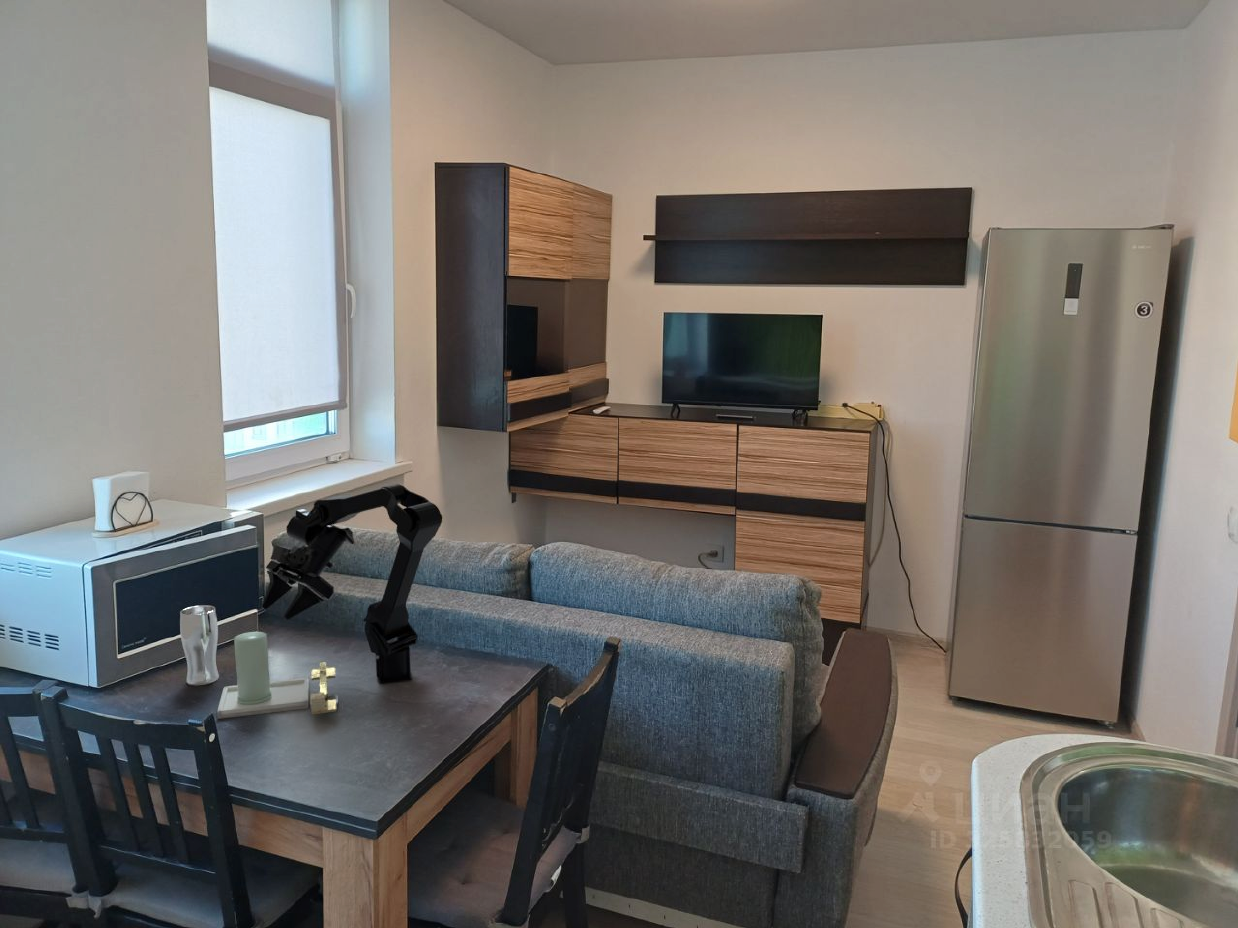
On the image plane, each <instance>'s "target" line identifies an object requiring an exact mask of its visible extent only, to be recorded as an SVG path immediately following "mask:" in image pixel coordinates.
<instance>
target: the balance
mask: <svg viewBox="0 0 1238 928" xmlns="http://www.w3.org/2000/svg"><path fill="white" fill-rule="evenodd" d="M335 678H336V667H335V666H334V667H327V662H326V661H324V662H319V668H317V669H316V668H315V669H311V681H318V680H319V692H316V693H310V713H311V715H317V714H324V713H325V714H326V713H327V714H328V713H332V712H333V713H334V712H337V710H339V695H338V694H332V695H329V692H328V691H329V690H328V681H327V680H328V679H335Z"/></svg>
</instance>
